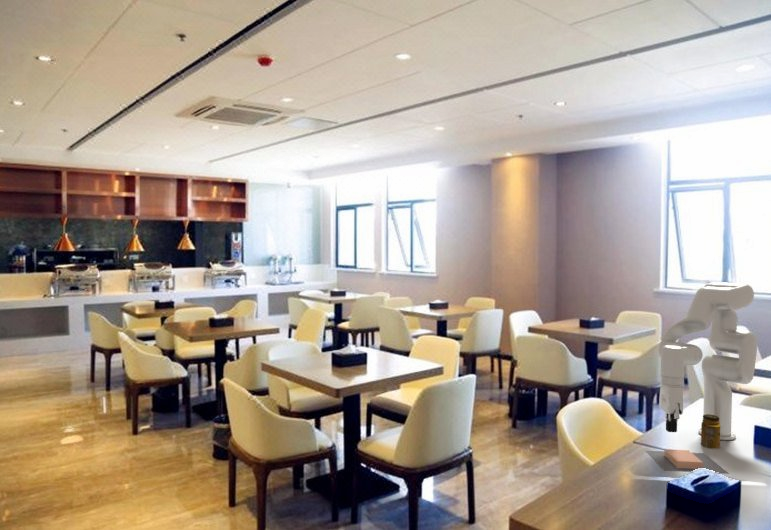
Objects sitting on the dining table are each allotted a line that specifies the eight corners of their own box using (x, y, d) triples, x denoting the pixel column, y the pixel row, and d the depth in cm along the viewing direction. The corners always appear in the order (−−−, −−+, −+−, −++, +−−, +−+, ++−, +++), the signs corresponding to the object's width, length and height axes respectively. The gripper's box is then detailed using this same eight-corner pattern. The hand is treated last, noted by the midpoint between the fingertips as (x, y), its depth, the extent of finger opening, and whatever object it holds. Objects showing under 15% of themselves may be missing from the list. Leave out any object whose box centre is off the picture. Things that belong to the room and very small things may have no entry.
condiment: (724, 449, 205) (725, 417, 204) (713, 454, 200) (713, 420, 200) (704, 443, 211) (705, 412, 210) (692, 447, 206) (693, 415, 206)
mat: (644, 453, 200) (645, 450, 200) (704, 455, 198) (704, 453, 198) (664, 473, 182) (664, 470, 182) (729, 476, 180) (729, 473, 180)
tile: (664, 449, 195) (677, 461, 184) (688, 450, 194) (702, 462, 183) (664, 455, 195) (677, 468, 184) (688, 456, 194) (702, 469, 183)
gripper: (653, 375, 207) (652, 424, 208) (669, 385, 192) (668, 438, 193) (674, 375, 206) (673, 425, 207) (692, 386, 191) (691, 439, 192)
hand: (671, 431), depth 200 cm, fingers closed
